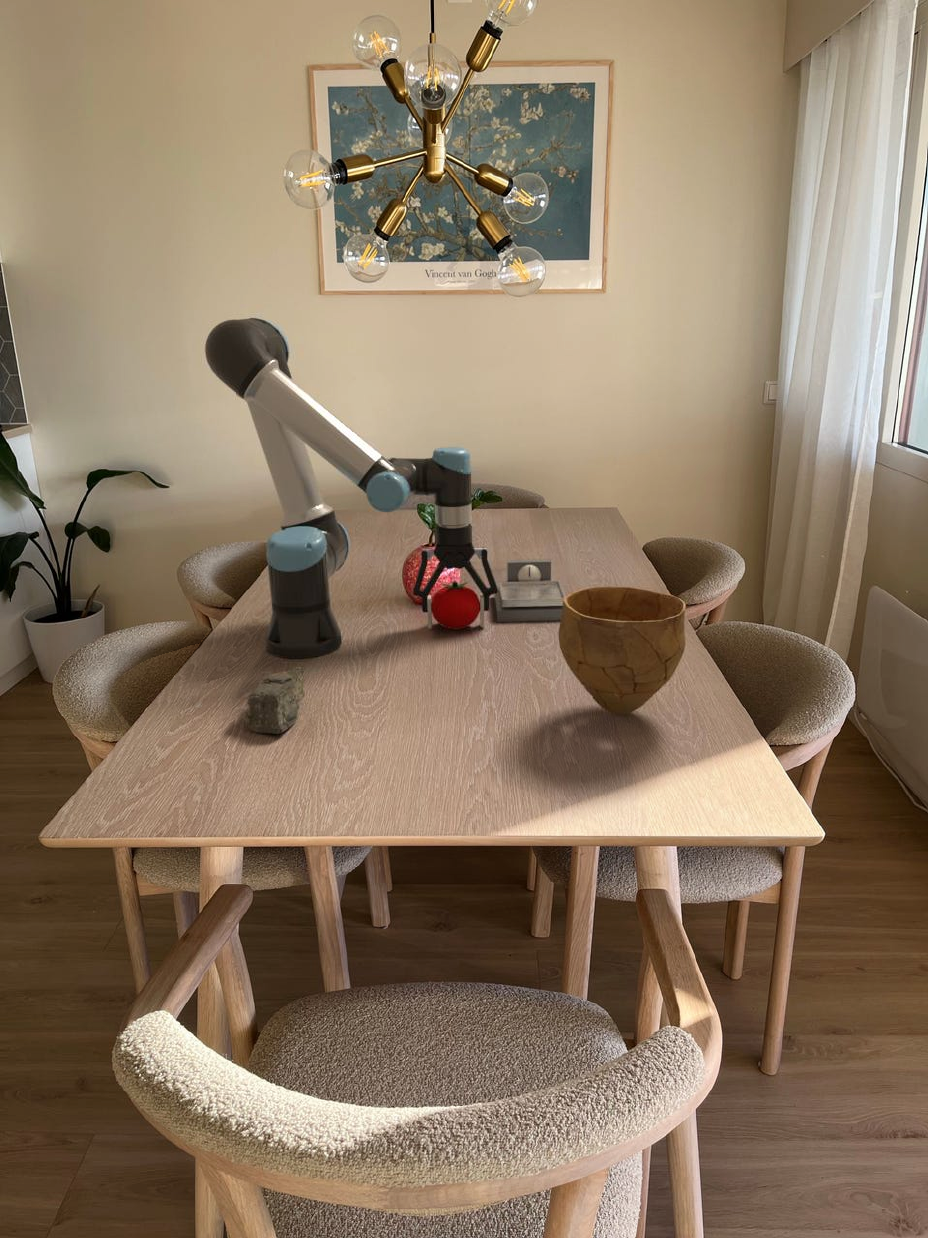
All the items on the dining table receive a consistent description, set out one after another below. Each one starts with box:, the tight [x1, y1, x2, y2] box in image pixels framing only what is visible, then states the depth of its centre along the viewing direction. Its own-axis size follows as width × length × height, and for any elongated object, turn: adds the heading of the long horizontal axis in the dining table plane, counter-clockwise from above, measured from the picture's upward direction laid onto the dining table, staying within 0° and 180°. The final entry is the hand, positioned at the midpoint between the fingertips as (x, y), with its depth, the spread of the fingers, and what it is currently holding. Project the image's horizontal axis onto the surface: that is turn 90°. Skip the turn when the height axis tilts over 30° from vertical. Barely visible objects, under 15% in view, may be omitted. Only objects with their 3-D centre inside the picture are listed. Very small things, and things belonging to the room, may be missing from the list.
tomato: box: [431, 579, 480, 630], centre depth 198 cm, size 10×10×10 cm
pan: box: [498, 579, 567, 607], centre depth 208 cm, size 14×14×2 cm
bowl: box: [557, 586, 687, 717], centre depth 153 cm, size 21×20×20 cm
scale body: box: [493, 558, 567, 623], centre depth 209 cm, size 18×16×9 cm
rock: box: [245, 666, 305, 734], centre depth 157 cm, size 17×7×10 cm
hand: (456, 625), depth 199 cm, fingers closed on tomato, 10 cm apart
